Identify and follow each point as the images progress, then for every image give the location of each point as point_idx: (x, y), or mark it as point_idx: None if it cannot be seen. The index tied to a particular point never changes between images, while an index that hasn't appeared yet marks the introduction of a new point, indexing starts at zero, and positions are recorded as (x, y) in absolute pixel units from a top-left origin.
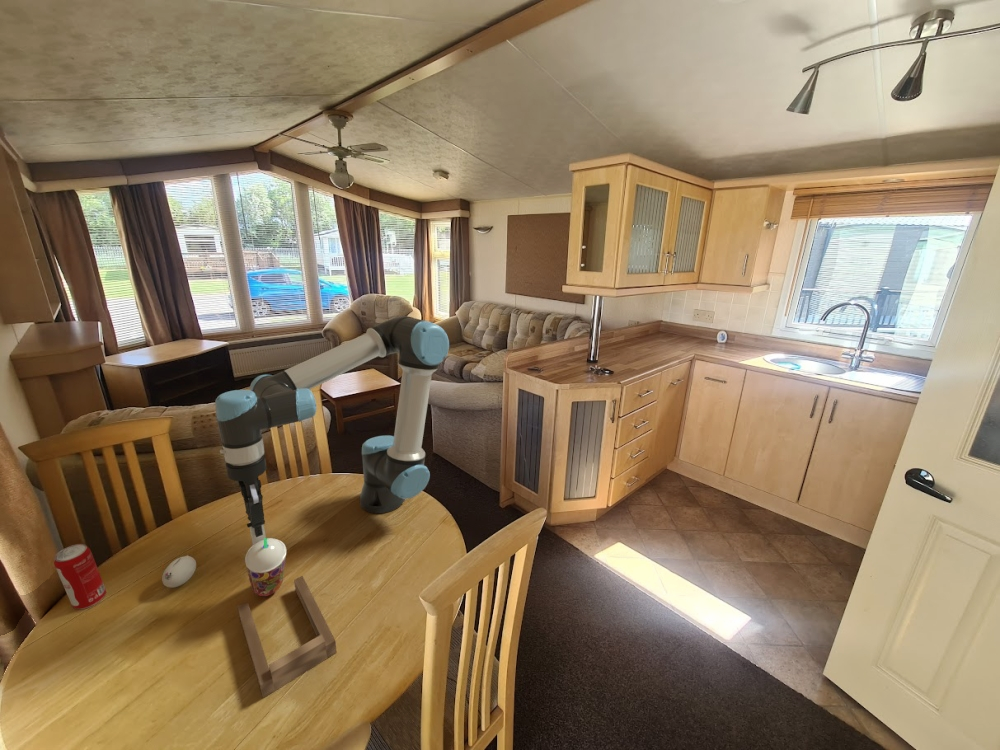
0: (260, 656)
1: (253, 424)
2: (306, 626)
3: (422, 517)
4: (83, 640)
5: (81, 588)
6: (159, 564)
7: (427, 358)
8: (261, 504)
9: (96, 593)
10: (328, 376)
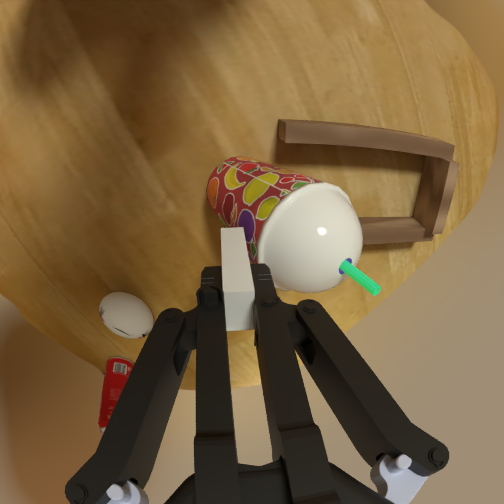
0: (401, 234)
1: None
2: (374, 150)
3: None
4: (187, 366)
5: None
6: (78, 316)
7: None
8: (400, 413)
9: (127, 371)
10: None
